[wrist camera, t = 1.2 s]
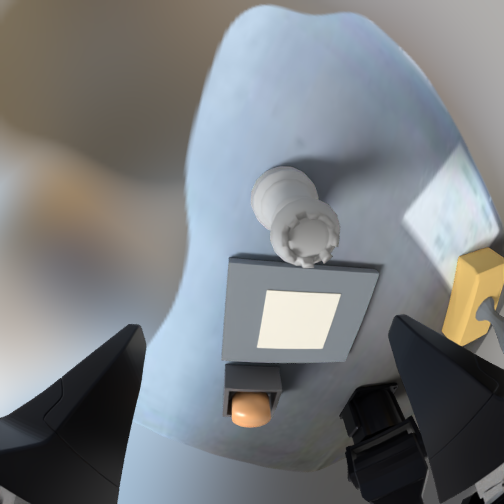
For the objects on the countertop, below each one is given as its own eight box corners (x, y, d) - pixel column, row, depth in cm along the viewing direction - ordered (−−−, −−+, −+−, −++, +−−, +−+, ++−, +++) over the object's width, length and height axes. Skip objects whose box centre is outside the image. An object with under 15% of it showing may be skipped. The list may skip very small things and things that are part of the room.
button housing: (278, 366, 25) (282, 389, 23) (270, 396, 28) (272, 417, 25) (225, 364, 25) (224, 388, 22) (223, 394, 27) (222, 416, 24)
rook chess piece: (321, 173, 18) (373, 203, 11) (305, 233, 20) (340, 293, 13) (257, 158, 17) (271, 177, 10) (244, 221, 19) (247, 279, 12)
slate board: (375, 269, 21) (379, 274, 21) (342, 356, 25) (344, 362, 25) (229, 257, 20) (228, 263, 19) (221, 354, 24) (221, 361, 24)
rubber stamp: (456, 256, 22) (535, 326, 11) (489, 246, 21) (561, 302, 10) (439, 331, 26) (490, 403, 15) (471, 317, 25) (522, 378, 15)
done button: (271, 388, 24) (274, 409, 21) (266, 408, 25) (267, 427, 23) (233, 387, 23) (233, 408, 21) (230, 407, 25) (230, 426, 23)
